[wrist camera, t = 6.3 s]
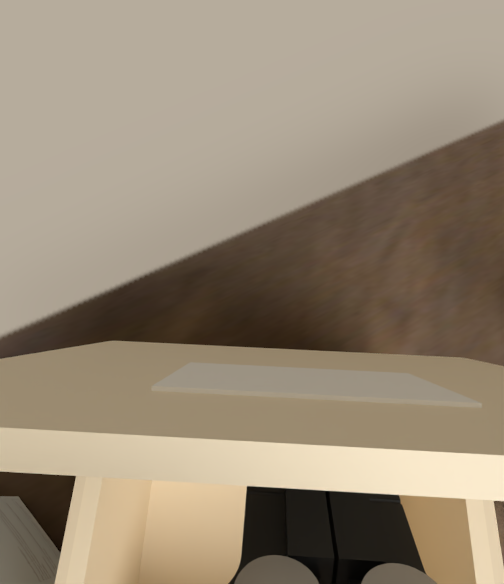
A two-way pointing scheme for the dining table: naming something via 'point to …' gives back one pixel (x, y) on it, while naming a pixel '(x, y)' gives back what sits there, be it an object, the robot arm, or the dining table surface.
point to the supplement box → (24, 546)
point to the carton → (238, 534)
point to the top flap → (257, 418)
